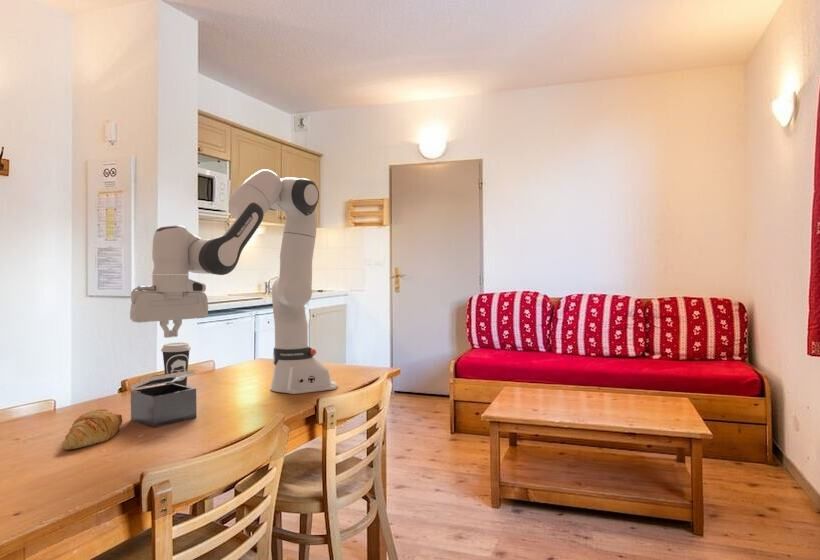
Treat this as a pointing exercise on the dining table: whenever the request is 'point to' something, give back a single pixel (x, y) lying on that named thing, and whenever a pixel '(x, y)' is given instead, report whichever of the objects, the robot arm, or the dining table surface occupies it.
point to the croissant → (92, 429)
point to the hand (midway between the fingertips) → (170, 337)
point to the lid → (162, 379)
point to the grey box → (163, 404)
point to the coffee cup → (176, 359)
